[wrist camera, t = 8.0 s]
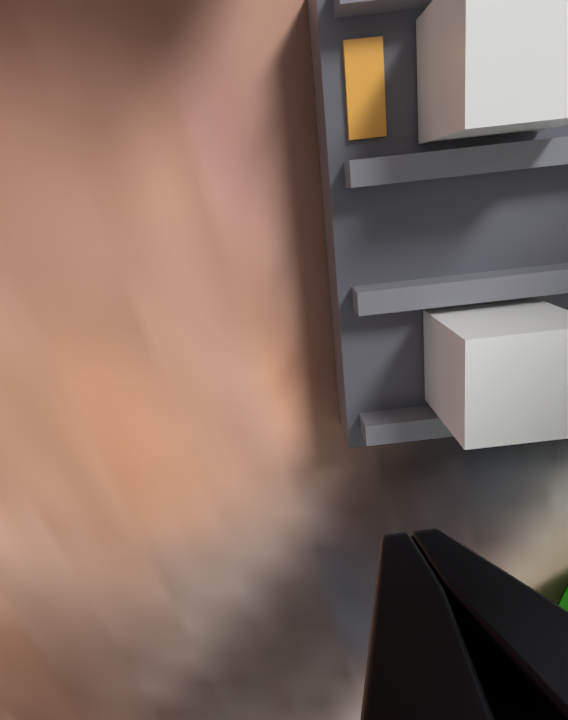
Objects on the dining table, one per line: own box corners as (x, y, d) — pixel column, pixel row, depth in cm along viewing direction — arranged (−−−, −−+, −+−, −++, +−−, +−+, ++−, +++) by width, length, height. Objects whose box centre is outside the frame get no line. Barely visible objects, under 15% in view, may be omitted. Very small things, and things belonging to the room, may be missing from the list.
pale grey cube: (534, 297, 18) (605, 324, 14) (529, 387, 19) (595, 435, 15) (423, 309, 18) (465, 340, 14) (425, 399, 19) (464, 450, 15)
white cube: (547, 5, 15) (640, -57, 12) (540, 130, 16) (624, 111, 13) (415, 19, 15) (466, -38, 12) (418, 144, 16) (464, 129, 13)
